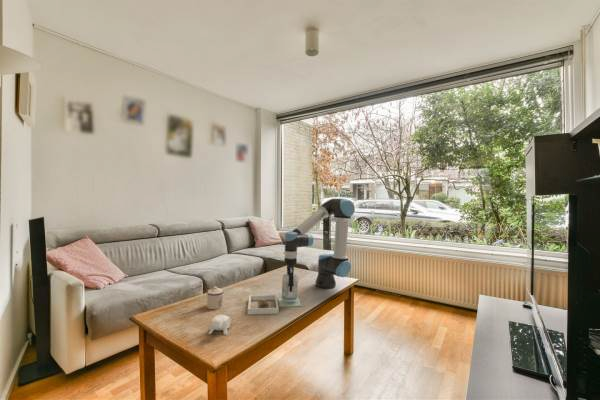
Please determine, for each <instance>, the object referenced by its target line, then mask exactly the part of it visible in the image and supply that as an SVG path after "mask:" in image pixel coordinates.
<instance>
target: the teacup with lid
mask: <svg viewBox="0 0 600 400" xmlns="http://www.w3.org/2000/svg"><path fill="white" fill-rule="evenodd" d="M206 298H207V301H206V303H207V304H206V308H207V309H209V310H218V309H220V308H222V307H223V302H224V301H223V300H224V290H223V288H219V287H218V286H216V285H215V286H213V287H212V288H211V289H207V291H206Z"/></svg>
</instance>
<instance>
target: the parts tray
mask: <svg viewBox="0 0 600 400" xmlns="http://www.w3.org/2000/svg"><path fill="white" fill-rule="evenodd" d="M264 300H267V301H275V307H268V308H258V307H256V308H255V307H253V308H251V303H252V301H264ZM247 305H248V306H247V315H250V316H251V315H275V314H276V315H278V314H279V311H280V309H279V308H280V307H279V301H278V294H249V297H248V304H247Z"/></svg>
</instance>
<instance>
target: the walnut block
mask: <svg viewBox="0 0 600 400" xmlns="http://www.w3.org/2000/svg"><path fill="white" fill-rule="evenodd" d="M257 308H270V307H269V300H257Z"/></svg>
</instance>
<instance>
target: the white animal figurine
mask: <svg viewBox="0 0 600 400" xmlns="http://www.w3.org/2000/svg"><path fill="white" fill-rule="evenodd" d="M231 322H232V318H231V316H228V315H226V314H218V315H214V317H213V318H212V320H211V322H210V329H209V331H208V335H212V334H213V333H214V331H215V330H216V331H223V335H224V336H227V335H228V330H227V329H228V328H230V326H231Z"/></svg>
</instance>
